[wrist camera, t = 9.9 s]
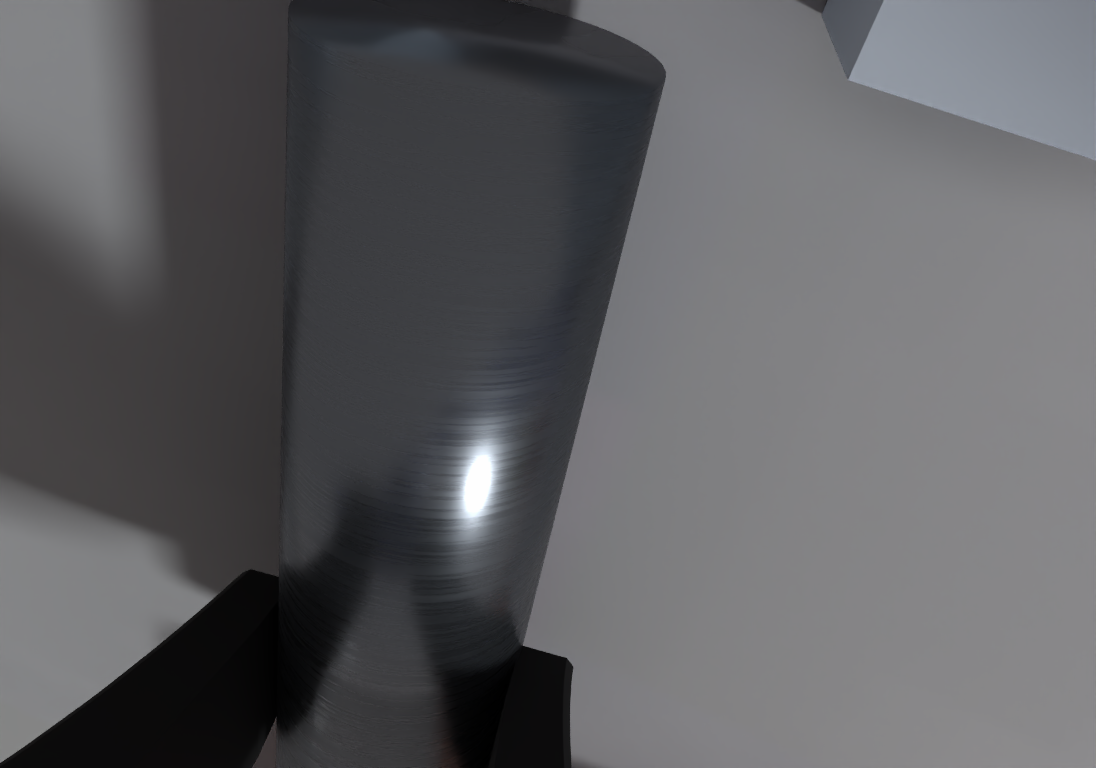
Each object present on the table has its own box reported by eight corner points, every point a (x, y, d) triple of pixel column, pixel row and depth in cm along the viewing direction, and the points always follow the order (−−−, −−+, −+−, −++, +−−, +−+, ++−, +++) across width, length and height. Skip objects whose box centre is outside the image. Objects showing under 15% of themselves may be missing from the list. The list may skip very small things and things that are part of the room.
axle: (370, -31, 8) (213, 26, 6) (677, 40, 8) (649, 130, 6) (326, 649, 14) (235, 828, 11) (509, 700, 14) (458, 893, 11)
